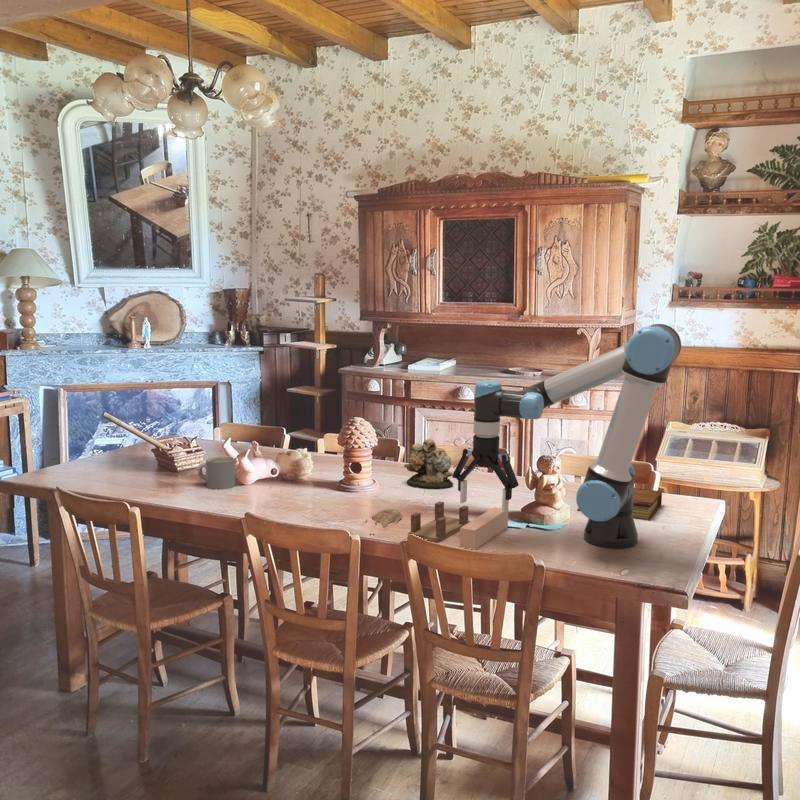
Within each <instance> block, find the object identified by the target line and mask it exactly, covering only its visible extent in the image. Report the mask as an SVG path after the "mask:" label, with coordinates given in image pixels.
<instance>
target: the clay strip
mask: <svg viewBox="0 0 800 800" xmlns="http://www.w3.org/2000/svg"><path fill="white" fill-rule="evenodd" d="M507 528H509V509H508V510H506V511H502V507H500V506H499V507H498V506H494V507H492V508H490V509H489V510H487V511H485V512H484V513H482V514H481V515H479V516H477V517H475V518H474V519H472V520H470V522H469V523H467V524H466V525H464V526H463V527H461V528H460V531H459V533H460V534H459V539H460V540H459V548H460V547H465V548H471V549H476V550H477V549H478V548H479V547H481V546H483V545H484V544H486V543H487V542H488V541H490V540H492V539H493V538H494V537H496V536H497V535H498V534H500V533H502V532H503V531H505V529H507ZM465 548H464V549H465ZM471 549H470V550H471Z"/></svg>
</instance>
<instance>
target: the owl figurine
mask: <svg viewBox="0 0 800 800" xmlns="http://www.w3.org/2000/svg"><path fill="white" fill-rule="evenodd" d="M408 460H409V463H404V466H403V467H404V468H406V469H407V471H408V472H412V473H413V472H414V473H416V474H414V475H412V476H411V477H409V479H407V481H406V483H407V485H408V486H409V487H412V488H417V487H418V488H419V489H422V490H423V489H425V490H445V489H451V488H452V487H454V483H453V481H452V480H450V479H449V478H450V477H452V475H453V472H451V471H449V470H450V469H451V466H452V458H451V457H450V456H449V455H448V454H447V452H446V450H445V449H444V448H442V447H438V446H437V445H436V442H435V440H434V439H432V438H426V439H424V441H423V442H422V444H420V443H418V442H417V443H415V444H412V446H411V453H410V456H409V459H408Z"/></svg>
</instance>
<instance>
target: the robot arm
mask: <svg viewBox="0 0 800 800" xmlns="http://www.w3.org/2000/svg"><path fill="white" fill-rule="evenodd" d="M681 351H682V340H681V337H680V335H679V334H678V332H677V331H676V330H675V329H674V328H673V327H671V326H670V325H667V324H664V323H656V324H655V323H654V324H651V325H648V326H647V325H646V326H644V327H641V328H639V329H637V330H636V331H635V332H634V333H633V334H631V336H630V338H629V339H626V340H625V343H624V344H623V345H622V346H619V347H617V348H615V349H612V350H610V351H608V352H605V353H604V354H602V355H599V356H596V357H595V358H592V359H590V360H588V361H585V362H583V363H580V364H578V365H575V366H573V367H572V368H569V369H567V370H565V371H562V372H560V373H558V374H556V375H554V376H551V377H549V378H547V379H545V380H543V381H540V382H537V383H534V384H532V385H530V386H528V387H526V388H524V389H521V390H506V389H503V387H502V383H501V382H499V381H495V380H481V381H478V382H477V383H475V388H474V396H473V398H474V399H473V401H474V402H473V430H472V431H473V432H472V433H473V436H472V440H473V441H472V447H473V448H472V449H471V448H470V447H466V448H463V449H462V455H461V457H460V459H459V462H458V463H457V464H456V465H457V466H456V468H455V469H454V471H453V472H452V476H451V478H453V479H456V480H457V490H458V492H459V493H460V496H459V503H460V504H464V503H466V502H467V501H468V496H467V495H468V480H467V479H466V478H467V477H468V476H469V475H470V474H471V472H473V471H474V469H476V467H477V466H478V467H485V468H488V469H491V471H493V472H494V473H495V474H496V476H497V477H498V480H500V483H502V485H503V487H504V488H502V499H501V508H502V511H506V510H508V511H509V504H510V503H509V501H510V500H512V497H513V496H512V493H513V489H515V488H517V487H519V484H520V483H519V482H518V479H517V477H516V474H515V472H514V470H513V469H514V468H513V467H512V464H511V461H510V453H505V454H504V453H503V454H501V453H500V451H499V449H500V436H499V435H500V432H501V431H500V430H501V429H500V428H501V426H500V425H501V424H500V423H501V417H506V418H515V419H524V420H527V421H528V420H538V419H540V418H541V417H542V415H543V412H544V409H546V408H549V407H550V406H553V405H555V404H557V403H559V402H562V401H564V400H566V399H570V398H571V397H575V396H577V395H579V394H581V393H584V392H587V391H589V390H591V389H593V388H595V387H599V386H601V385H604V384H605V383H608V382H611V381H613V380H616V379H617V378H620V377H622V376H624V379H623V382H622V385H621V388H620V391H619V394H618V396H617V400H616V402H615V406H614V409H613V412H612V415H611V418H610V421H609V423H608V427H607V430H606V433H605V436H604V438H603V441H602V445H601V448H600V450H599V454H598V456H597V459H596V460H594V461H592V462H590V463H589V466H588V468H587V471H586V474H585V477H584V480H583V483H582V484H581V485H579V487H578V489H577V492H576V497H575V499H576V500H575V501H576V504H577V507H578V508H579V509H580V511H579V512H581V514H583V516H585V517H586V518H588V520H587V522H586V525H585V527H584V531H583V539H584V540H585V541H586V542H587V543H589V544H590V545H594V546H597V547H603V548H612V549H623V548H624V549H625V548H630V547H633V546H636V545H637V544H638V541H639V540H638V539H639V533H638V531H637V527H636V523H635V519H633V515H632V513H633V492H634V488H635V476H636V473H635V467H634V466H633V464H631V463H632V461H633V458H634V456H635V452H636V450H637V446H638V444H639V442H640V441H639V440H640V439H641V438H640V437H641V436H642V432H643V430H644V426H645V424H646V421H647V418H648V415H649V413H650V409H651V406H652V405H653V402H654V398H655V395H656V392H657V389H658V388H659V387H661V386H664V385H665V384H666V382H667V379H668V376H669V374H670V372H671V368H672V365H673V363H674V362H675V361H676V360H677V359H678V357H679V355H680V352H681ZM471 456H472V458H473V460H472V461H471V462H470V464H469V465H468V466H467V467H466V468H465V470H464V467H465V466H466V465H467V462H468V460H469V458H470V457H471ZM499 460H500V462H501V464H500V462H499ZM501 465H502V467H503V468H502V467H501ZM503 469H504V470H503ZM463 470H464V471H463Z"/></svg>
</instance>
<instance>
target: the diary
mask: <svg viewBox="0 0 800 800" xmlns="http://www.w3.org/2000/svg"><path fill="white" fill-rule="evenodd" d="M662 497H663V491H661V490H652V489H646V488H645V489H644V488H638V487H634V492H633V513H632V515H633V519H634V520H641V521H647V522H649V521H651V520H652V518H653V517H654V516H655V515H654V514H656V513H657V512H658V511H659V509H660V508H661V507H662V502H663V501H662V500H663V498H662ZM577 512H581V511H580V509H579V507H578V508H577Z"/></svg>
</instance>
